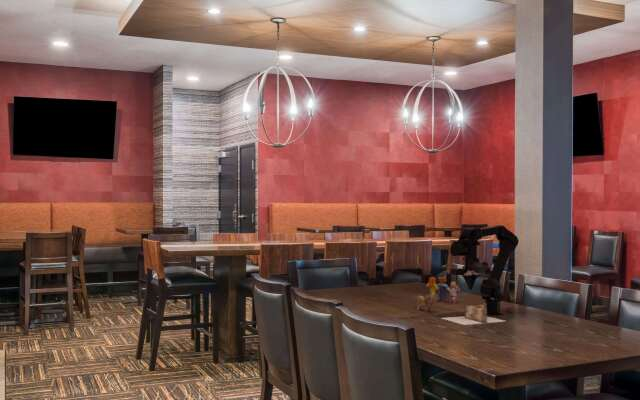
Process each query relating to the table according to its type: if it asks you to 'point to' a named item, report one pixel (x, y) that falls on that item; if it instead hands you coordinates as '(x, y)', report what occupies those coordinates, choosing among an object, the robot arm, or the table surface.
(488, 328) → the table surface
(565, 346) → the table surface
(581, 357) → the table surface
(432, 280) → the doll family
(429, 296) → the lion figurine
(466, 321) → the board
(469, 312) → the brown tall flat block
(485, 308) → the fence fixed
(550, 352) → the table surface
